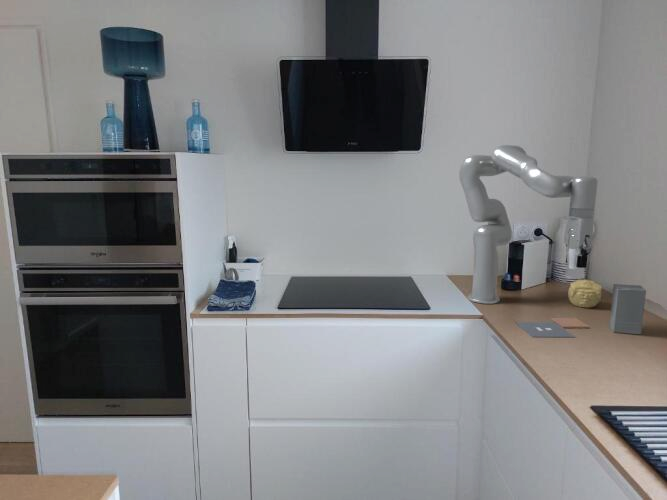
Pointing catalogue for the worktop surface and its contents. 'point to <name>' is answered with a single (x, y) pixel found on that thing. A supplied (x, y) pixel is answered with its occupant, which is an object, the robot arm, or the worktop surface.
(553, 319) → the coaster
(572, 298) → the sculpture
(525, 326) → the blue-grey tile
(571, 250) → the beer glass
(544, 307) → the worktop surface
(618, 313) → the skincare box
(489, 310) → the worktop surface
